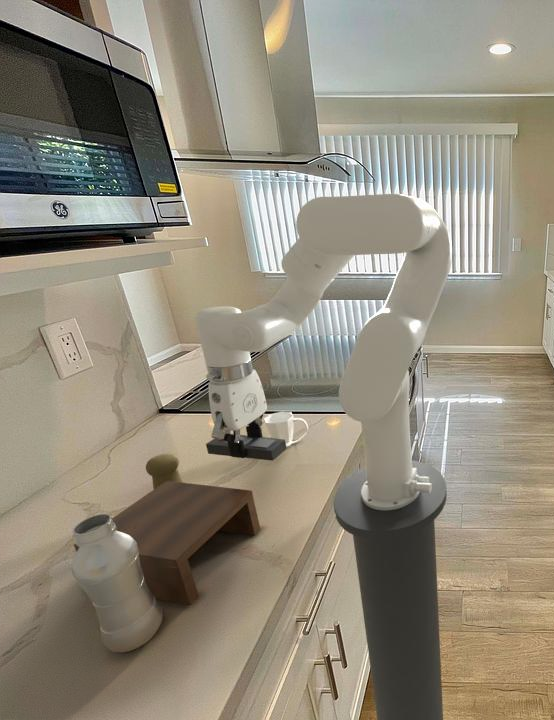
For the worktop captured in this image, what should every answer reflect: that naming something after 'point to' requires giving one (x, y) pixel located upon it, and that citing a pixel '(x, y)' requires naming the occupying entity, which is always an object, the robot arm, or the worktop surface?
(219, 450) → the remote
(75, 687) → the worktop surface
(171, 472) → the cork
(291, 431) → the cup
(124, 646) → the plastic bottle
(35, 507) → the worktop surface
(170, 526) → the shelf
